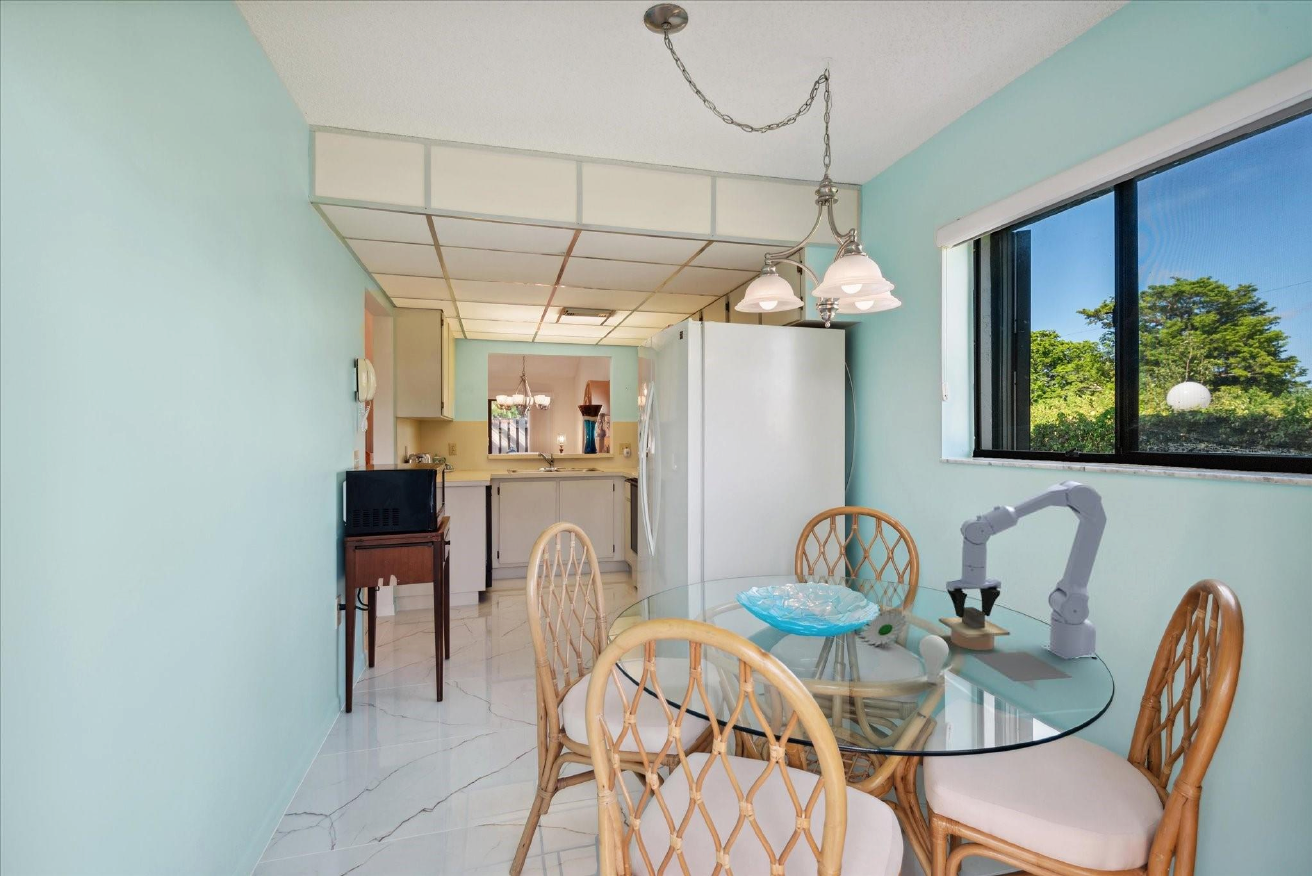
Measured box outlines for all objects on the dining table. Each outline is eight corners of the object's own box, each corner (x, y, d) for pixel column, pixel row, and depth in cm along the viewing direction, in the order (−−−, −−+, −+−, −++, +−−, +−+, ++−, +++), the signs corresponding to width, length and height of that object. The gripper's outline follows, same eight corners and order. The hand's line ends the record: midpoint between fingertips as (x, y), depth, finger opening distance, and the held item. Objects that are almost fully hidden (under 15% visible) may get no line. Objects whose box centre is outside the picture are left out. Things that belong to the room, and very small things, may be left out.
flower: (864, 592, 189) (911, 614, 159) (873, 607, 189) (922, 631, 159) (829, 617, 187) (870, 643, 158) (839, 632, 187) (882, 661, 157)
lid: (978, 619, 169) (979, 602, 169) (1009, 635, 157) (1010, 616, 157) (938, 621, 167) (939, 604, 167) (966, 637, 156) (967, 619, 155)
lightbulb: (940, 677, 143) (941, 631, 142) (952, 689, 136) (954, 641, 136) (914, 677, 143) (915, 630, 142) (925, 689, 137) (926, 640, 136)
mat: (1025, 653, 157) (1025, 651, 157) (1072, 679, 142) (1072, 677, 142) (971, 656, 155) (971, 654, 155) (1014, 683, 140) (1014, 681, 140)
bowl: (976, 636, 168) (977, 620, 168) (1002, 650, 159) (1002, 633, 158) (943, 638, 167) (943, 622, 167) (966, 652, 157) (967, 635, 157)
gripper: (988, 560, 167) (987, 609, 167) (939, 562, 165) (938, 612, 165) (1007, 567, 160) (1005, 618, 160) (956, 569, 158) (954, 621, 158)
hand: (972, 615), depth 162 cm, fingers open, 7 cm apart
